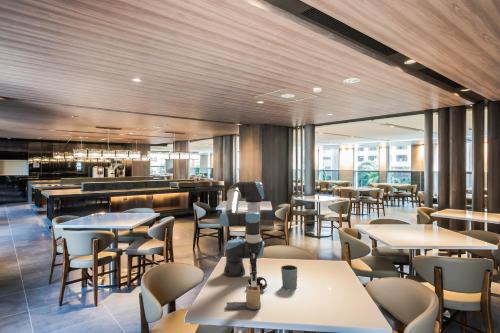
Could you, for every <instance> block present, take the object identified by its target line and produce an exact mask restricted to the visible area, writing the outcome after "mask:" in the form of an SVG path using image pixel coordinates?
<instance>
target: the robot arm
mask: <svg viewBox="0 0 500 333" xmlns="http://www.w3.org/2000/svg"><path fill="white" fill-rule="evenodd" d="M226 198H227V200H226V205H225V210H224V211H225V212H222V213H220V215H219V223H220V224H219V225H220V226H221V227H227V228H228V227H245V240H243V239H242V238H234V239H230V240H228V241H227V242H226V244H225V252H226V253H225V265H224V269H223V275H224V276H225V277H228V278H229V277H230V278H239V277H242V276H244V275H246V268H245V265H244V260H246V259H249V278H250V279H251V285H250V286H251V287H257V276H258V275H257V274H258V272H257V268H258V266H257V260H258V259H262V258H263V256H264V254H265V253H264V252H265V241H263V238H262V235H261V203H262V202H263V199H265V194H264V186H263V182H261V181H238V182H235V183H233V184H231V186H229V188H228V190H227V192H226ZM241 199H243V200H244V202H246V204H247V211H246V212H239V204H240V200H241Z"/></svg>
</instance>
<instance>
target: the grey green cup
mask: <svg viewBox="0 0 500 333" xmlns="http://www.w3.org/2000/svg"><path fill="white" fill-rule="evenodd" d="M280 271H281V281H282V288H283V289H284V290H291V291H292V290H295V289H297V287H298V286H297V285H298V267H297V265H292V264H286V265H282V266H281V267H280Z"/></svg>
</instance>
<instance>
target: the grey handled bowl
mask: <svg viewBox="0 0 500 333" xmlns="http://www.w3.org/2000/svg"><path fill="white" fill-rule="evenodd" d="M261 308H262V303H261V302H260V306H253V307H247V303H246V301H233V302H230V301H229V302H226V310H227V311H228V310H229V311H232V310H235V311H236V310H248V311H251V312H256V311H260V309H261Z"/></svg>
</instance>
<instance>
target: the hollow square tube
mask: <svg viewBox="0 0 500 333" xmlns="http://www.w3.org/2000/svg"><path fill="white" fill-rule="evenodd" d="M245 289H246V292H245V302H246V303H247V307H253V306H260V303H261V291H260V287H259V286H257V287H251V285H246V286H245Z"/></svg>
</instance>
